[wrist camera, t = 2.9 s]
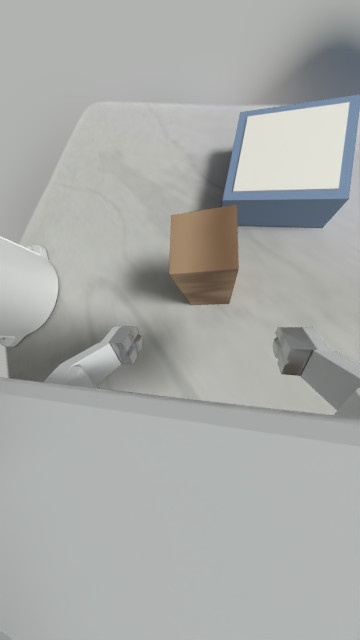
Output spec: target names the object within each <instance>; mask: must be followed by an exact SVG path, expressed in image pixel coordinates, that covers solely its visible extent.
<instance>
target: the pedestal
mask: <svg viewBox="0 0 360 640" xmlns="http://www.w3.org/2000/svg"><path fill="white" fill-rule="evenodd" d="M359 110H360V95H355V96H348V97H342V98H335V99H327V100H321V101H315V102H307V103H300V104H294V105H287V106H280V107H273V108H266V109H260V110H253V111H246V112H240V116H239V121H238V126H237V131H236V136H235V141H234V146H233V151H232V156H231V161H230V166H229V171H228V175H227V180H226V185H225V190H224V195H223V200H222V207H224V206H230V205H236V204H237V225H238V226H277V227H315V228H323V227H324V226H325V225H326V223H327V222H328V221H329V220H330V219H331V218H332V217H333V216H334V215H335V213H336V212H337V211H338V210H339V209H340V208H341V207H342V206H343V205H344V203H345V202H346V201H347V200H348V199H349V192H350V184H351V176H352V168H353V159H354V151H355V143H356V134H357V126H358V118H359Z"/></svg>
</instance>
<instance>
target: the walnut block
mask: <svg viewBox="0 0 360 640" xmlns="http://www.w3.org/2000/svg"><path fill="white" fill-rule="evenodd" d="M238 269H239V265H238V232H237V204H236V205H230V206H224V207H218V208H212V209H206V210H200V211H195V212H189V213H183V214H177V215H171V234H170V263H169V275H170V276H171V278H172V279H173V281H174V282H175V283H176V285H177V286H178V288H179V289H180V290H181V292H182V293H183V295H184V296H185V297H186V299H187V300H188V302H189V303H190V304H191V305H207V304H229V303H230V299H231V295H232V291H233V288H234V284H235V280H236V277H237V273H238Z"/></svg>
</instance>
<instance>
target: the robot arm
mask: <svg viewBox="0 0 360 640" xmlns="http://www.w3.org/2000/svg"><path fill="white" fill-rule="evenodd" d="M57 296H58V278H57V274H56V271H55V269H54V268H53V266H52V265H51V264H50V262H49V261H48V257H47V252H46V249H45V248H44V247H42V246H40V245H31V246H25V247H23V246H21V245H19V244H16V243H14V242H12V241H10V240H8V239H5V238H3V237H1V236H0V344H2V345H3V346H5V347H15V346H16V345H17V344H18V343H19V342H20V341H21V340H22V339H23V338H24V337H25V336H26V335H28V334H30V333H32V332H34V331H35V330H37V329H38V328H39V327H41V326H42V325H43V324H44V323H45V321H46V320H47V319H48V317H49V316H50V314H51V313H52V311H53V308H54V306H55V303H56V300H57ZM138 333H139V330H138V328H137V327H134V326H115V327H113V328H112V329H111V330H110V332H109V333H108V334H107V335H106V336H105V338H104V339H103V340H102V341H101V342H100V343H97V344H95V345H93V346H92V347H90V348H88V349H86V350H84V351H83V352H81V353H79V354H77V355H76V356H74V357H72V358H70V359H68V360H67V361H65V362H63V363H61V364H60V365H59V366H58V367H57V368H56V369H55V370H54V371H53V372H52V373H51V374H50V375H49V376H48V377H47V378H46V380H45V381H44V382H36V381H28V380H19V379H10V378H1V377H0V640H360V364H359V363H357V362H355V361H353V360H351V359H349V358H348V357H346V356H344V355H342V354H340V353H338V352H337V351H331V349H330V348H329V347H328V345H327V344H326V343H325V341H324V340H323V339H322V337H321V336H320V335H319V333H318V332H317V331H316V329H315V328H313V327H278V328H277V330H276V335H277V338H275V339H274V342H273V352H274V355H275V357H276V358H278V359H279V360H278V366H279V369H280V372H281V374H287V375H298V376H301V377H302V378H303V379H304V380H305V381H306V382H307V383H308V384H309V385H310V386H311V387H312V388H313V389H315V390H316V391H317V392H318V393H319V394H320V395H321V396H322V397H323V398H324V399H325V400H326V401H327V402H329V403H330V404H331V405H332V406H333V407H334V408H335V409H336V410H337V412H336V413H335V414H334V415H324V414H315V413H306V412H298V411H289V410H280V409H272V408H263V407H254V406H245V405H237V404H228V403H219V402H210V401H201V400H193V399H184V398H175V397H167V396H158V395H149V394H141V393H132V392H123V391H114V390H106V389H98V387H97V385H98V384H99V383H100V382H101V381H103V380H104V379H105V378H106V377H107V376H108V375H109V374H111V373H112V372H113V371H114V370H115V369H116V368H118V367H119V366H120V365H121V364H134V362H135V360H136V358H137V352H139V351H140V350H141V348H142V343H143V342H142V338H141V336H140V335H139V334H138Z"/></svg>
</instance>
